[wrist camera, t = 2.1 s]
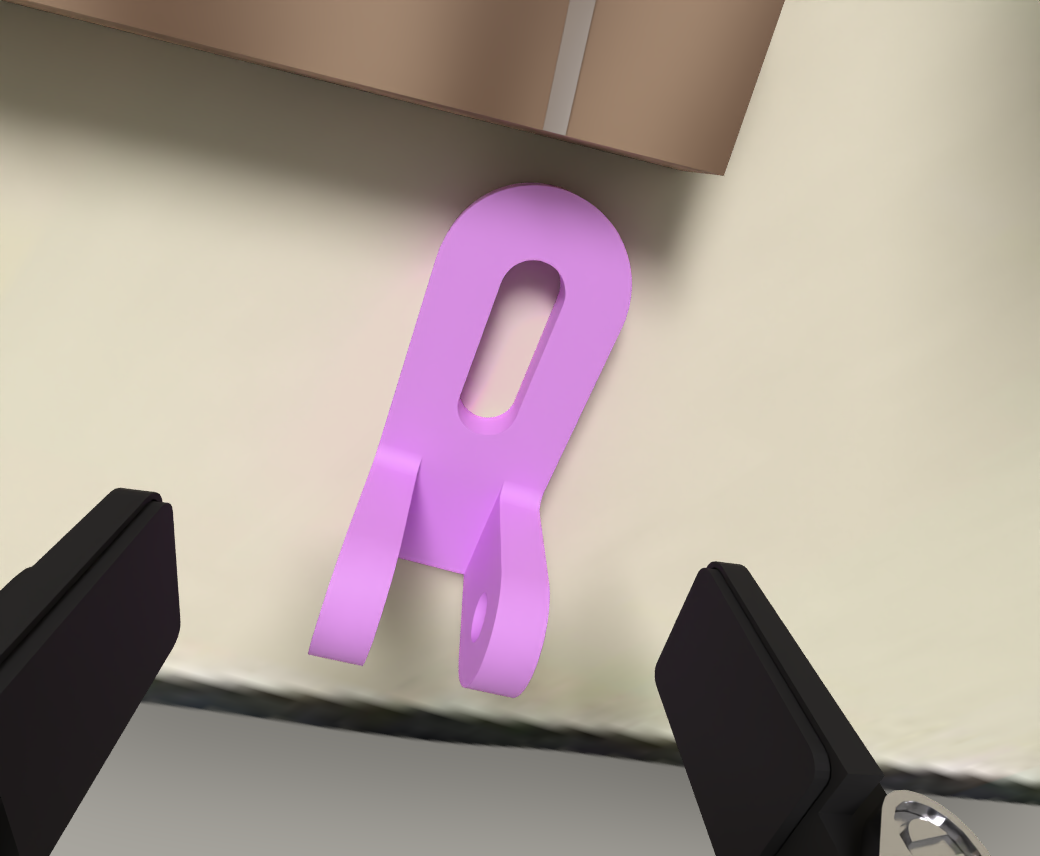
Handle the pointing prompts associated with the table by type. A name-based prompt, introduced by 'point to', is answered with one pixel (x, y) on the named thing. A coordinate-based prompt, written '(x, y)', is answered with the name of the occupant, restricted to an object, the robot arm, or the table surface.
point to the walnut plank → (502, 60)
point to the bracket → (482, 436)
